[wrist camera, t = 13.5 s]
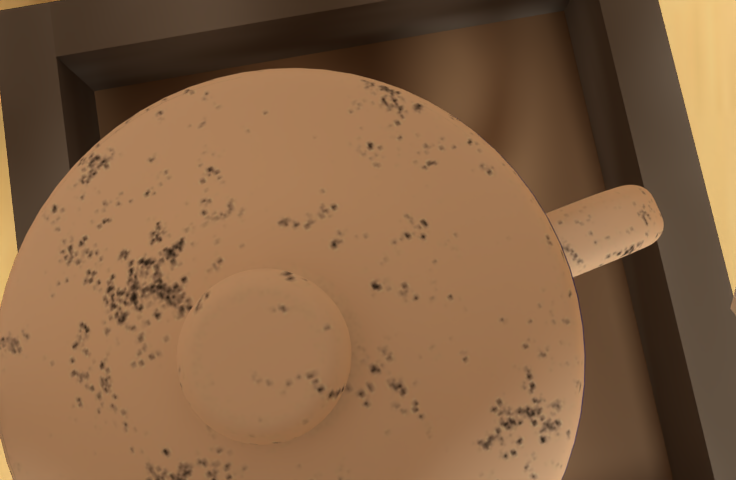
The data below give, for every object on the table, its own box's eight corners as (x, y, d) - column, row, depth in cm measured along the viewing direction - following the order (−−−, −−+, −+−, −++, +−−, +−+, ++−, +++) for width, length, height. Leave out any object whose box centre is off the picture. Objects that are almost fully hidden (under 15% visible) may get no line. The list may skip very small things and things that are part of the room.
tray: (591, -28, 22) (633, -97, 18) (744, 607, 19) (827, 667, 16) (52, 65, 21) (-9, 11, 18) (132, 725, 19) (79, 813, 15)
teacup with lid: (228, 569, 18) (-14, 965, 7) (117, 252, 20) (-249, 131, 8) (641, 398, 19) (1065, 497, 7) (510, 99, 20) (697, -219, 9)
